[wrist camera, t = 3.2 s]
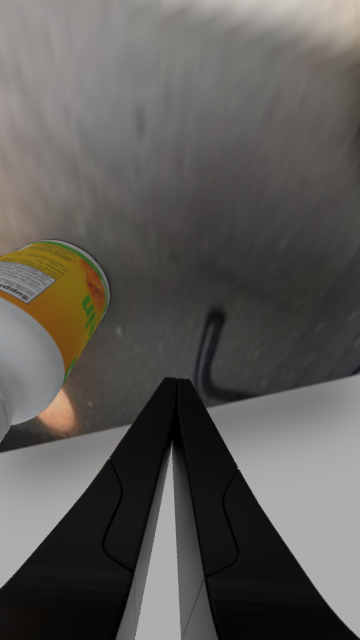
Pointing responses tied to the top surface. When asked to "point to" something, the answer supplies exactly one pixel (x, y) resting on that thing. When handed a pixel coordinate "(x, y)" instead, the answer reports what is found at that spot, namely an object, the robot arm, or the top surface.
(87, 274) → the supplement bottle
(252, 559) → the robot arm
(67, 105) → the top surface
